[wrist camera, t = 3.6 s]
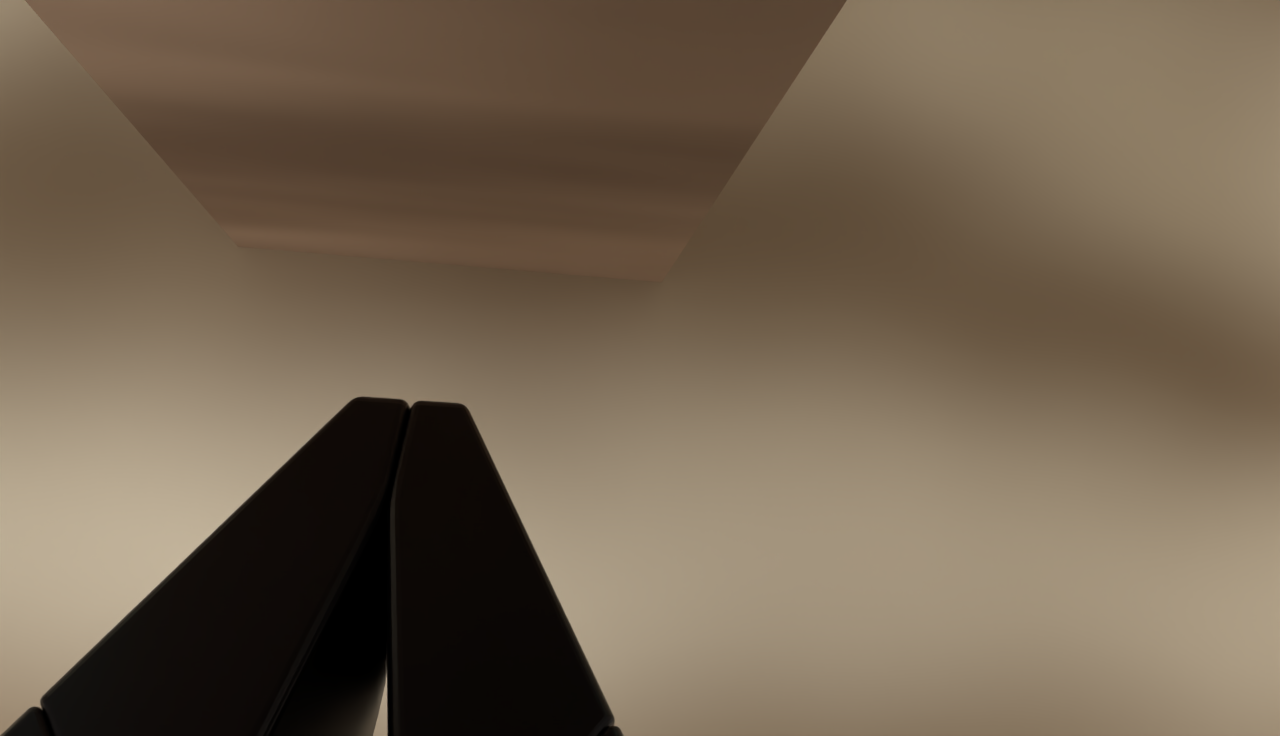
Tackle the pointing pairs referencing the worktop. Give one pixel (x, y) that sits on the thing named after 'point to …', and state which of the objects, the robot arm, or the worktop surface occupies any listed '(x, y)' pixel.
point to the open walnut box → (451, 118)
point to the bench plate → (742, 385)
